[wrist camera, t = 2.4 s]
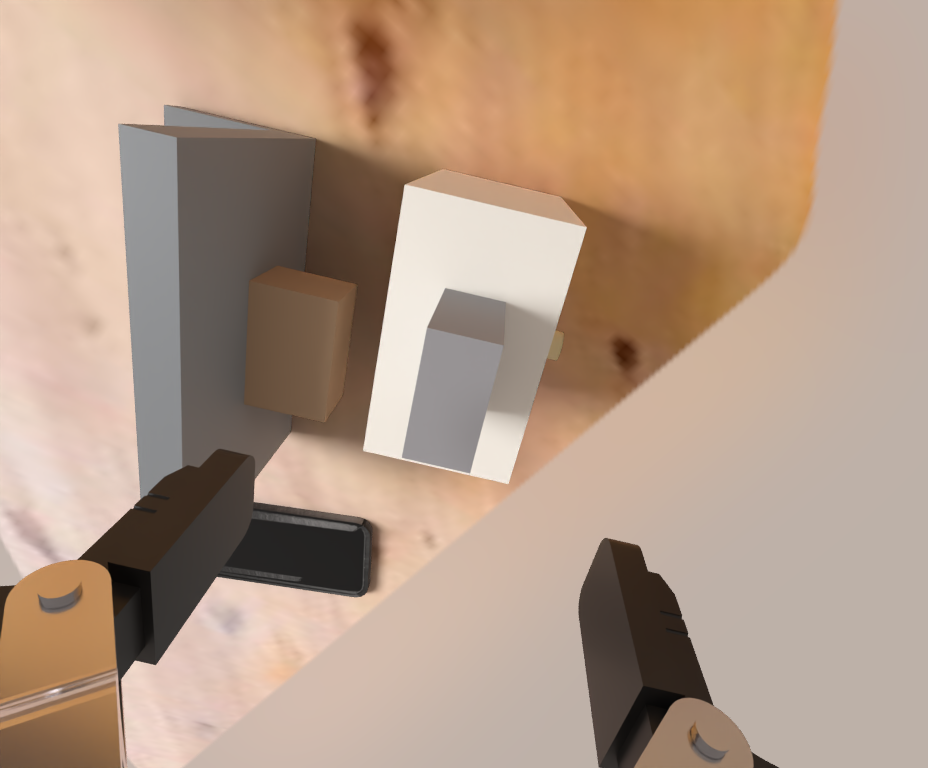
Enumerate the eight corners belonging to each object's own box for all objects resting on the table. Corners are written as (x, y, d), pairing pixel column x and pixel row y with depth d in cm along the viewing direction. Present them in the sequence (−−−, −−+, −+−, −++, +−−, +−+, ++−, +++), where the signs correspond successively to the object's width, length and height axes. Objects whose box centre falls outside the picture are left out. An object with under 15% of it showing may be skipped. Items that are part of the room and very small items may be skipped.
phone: (182, 498, 42) (370, 525, 41) (189, 489, 43) (373, 516, 42) (192, 573, 45) (367, 600, 44) (199, 564, 46) (370, 590, 45)
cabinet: (408, 356, 36) (329, 519, 20) (443, 168, 31) (372, 197, 15) (524, 383, 36) (532, 565, 20) (577, 200, 31) (642, 260, 15)
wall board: (183, 407, 39) (24, 536, 26) (179, 106, 30) (-58, 82, 18) (350, 445, 39) (272, 592, 26) (392, 156, 31) (307, 168, 18)
